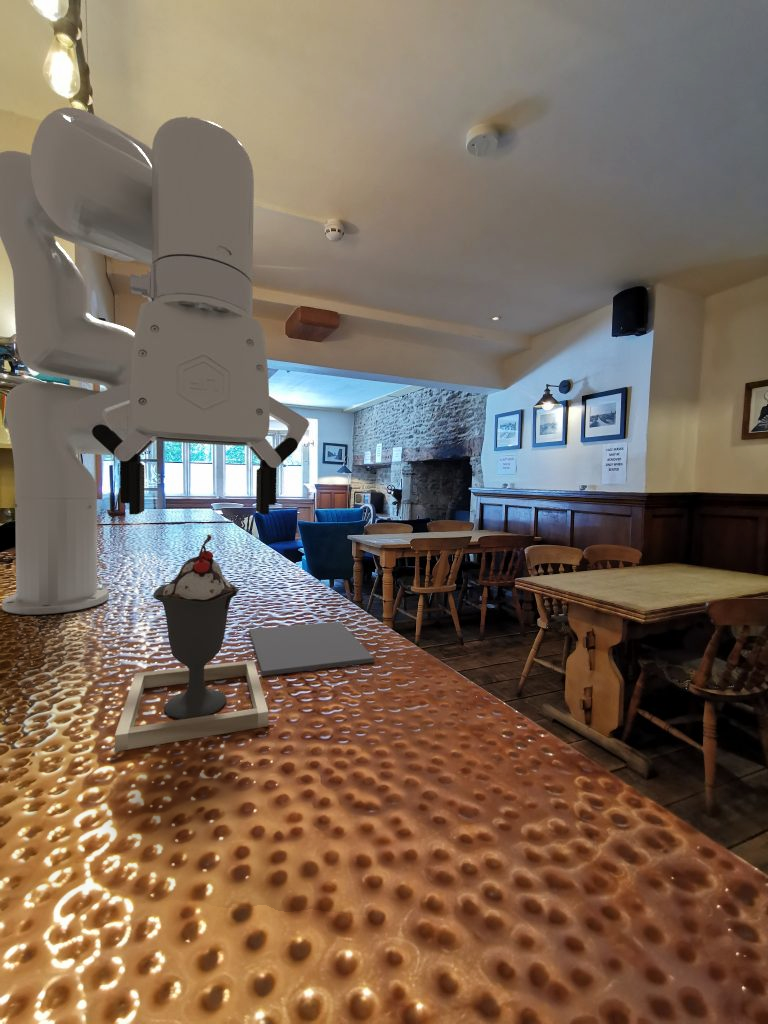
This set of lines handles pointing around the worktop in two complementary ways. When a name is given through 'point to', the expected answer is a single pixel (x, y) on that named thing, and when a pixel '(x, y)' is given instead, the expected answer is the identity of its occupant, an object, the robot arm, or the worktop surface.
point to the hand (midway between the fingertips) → (202, 513)
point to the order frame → (190, 727)
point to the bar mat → (306, 648)
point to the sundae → (196, 629)
